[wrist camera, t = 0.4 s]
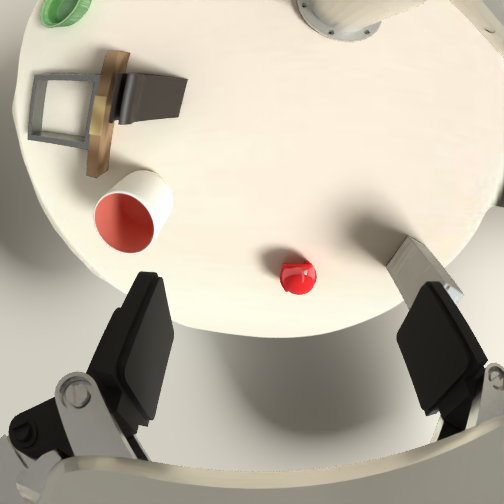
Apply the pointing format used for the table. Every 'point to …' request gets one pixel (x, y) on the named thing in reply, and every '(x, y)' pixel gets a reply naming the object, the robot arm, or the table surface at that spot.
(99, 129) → the door edge rail
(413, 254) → the skincare box
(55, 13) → the ramekin
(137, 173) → the cup
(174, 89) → the phone stand
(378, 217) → the table surface
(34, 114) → the frame
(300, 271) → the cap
